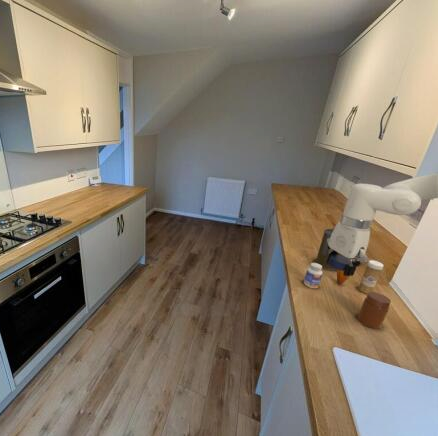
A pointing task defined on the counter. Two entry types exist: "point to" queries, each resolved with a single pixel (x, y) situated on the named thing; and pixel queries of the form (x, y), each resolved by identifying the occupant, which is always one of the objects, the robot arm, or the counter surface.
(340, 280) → the carrot
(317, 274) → the pill bottle
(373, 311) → the jar
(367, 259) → the robot arm
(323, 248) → the canister
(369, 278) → the sprinkles bottle
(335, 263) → the lid
